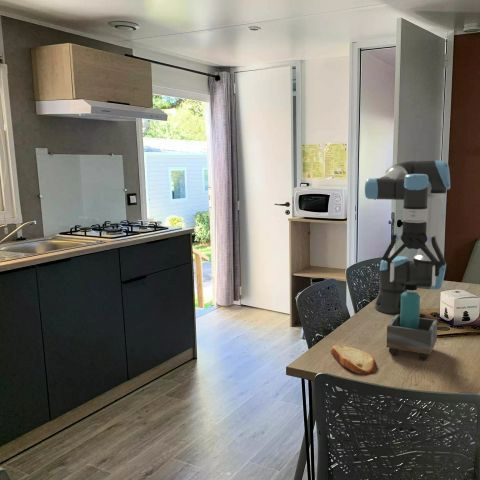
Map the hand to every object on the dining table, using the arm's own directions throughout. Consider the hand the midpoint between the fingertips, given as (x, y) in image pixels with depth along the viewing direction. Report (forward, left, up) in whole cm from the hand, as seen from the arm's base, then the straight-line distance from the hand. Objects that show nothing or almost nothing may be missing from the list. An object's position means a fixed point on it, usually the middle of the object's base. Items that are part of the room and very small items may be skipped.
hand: (412, 283), depth 170 cm
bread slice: (+17, -15, -25) cm, 34 cm away
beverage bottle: (0, 0, -20) cm, 20 cm away
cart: (0, +1, -24) cm, 24 cm away
